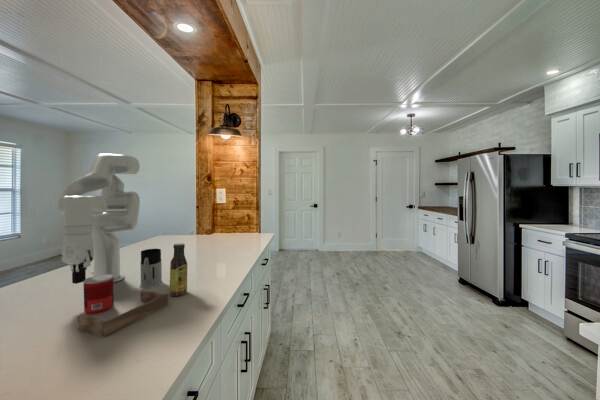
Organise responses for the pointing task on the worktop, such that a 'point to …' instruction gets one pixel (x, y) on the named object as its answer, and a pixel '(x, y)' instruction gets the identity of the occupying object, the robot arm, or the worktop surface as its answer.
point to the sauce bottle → (178, 271)
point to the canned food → (98, 294)
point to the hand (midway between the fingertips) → (79, 282)
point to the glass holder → (151, 268)
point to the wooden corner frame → (124, 315)
